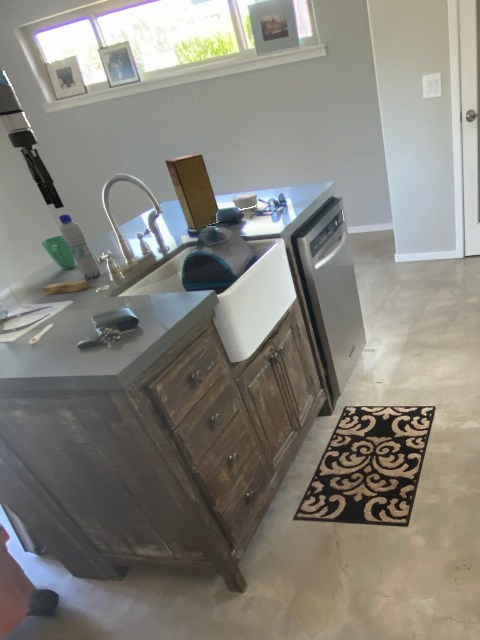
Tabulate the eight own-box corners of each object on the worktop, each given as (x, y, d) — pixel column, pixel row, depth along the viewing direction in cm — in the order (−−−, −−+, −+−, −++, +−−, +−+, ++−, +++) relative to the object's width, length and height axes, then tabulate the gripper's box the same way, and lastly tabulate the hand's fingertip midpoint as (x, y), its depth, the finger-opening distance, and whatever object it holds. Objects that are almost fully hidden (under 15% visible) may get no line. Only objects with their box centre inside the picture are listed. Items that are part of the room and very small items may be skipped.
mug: (56, 267, 203) (41, 239, 196) (82, 261, 205) (68, 233, 198) (53, 276, 192) (38, 248, 186) (81, 270, 195) (66, 241, 188)
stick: (46, 295, 176) (42, 288, 174) (50, 292, 178) (46, 285, 176) (84, 290, 174) (81, 283, 173) (88, 287, 177) (85, 279, 175)
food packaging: (213, 219, 232) (193, 153, 216) (223, 221, 227) (203, 153, 210) (186, 227, 227) (163, 160, 210) (196, 230, 221) (173, 160, 204)
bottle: (99, 277, 184) (70, 215, 170) (81, 280, 184) (50, 218, 170) (104, 271, 189) (76, 210, 175) (86, 275, 189) (56, 213, 175)
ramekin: (237, 214, 235) (233, 200, 232) (234, 209, 243) (230, 196, 240) (261, 208, 237) (257, 195, 233) (257, 204, 245) (254, 192, 241)
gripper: (39, 128, 159) (75, 206, 173) (24, 128, 175) (58, 200, 189) (13, 133, 156) (52, 212, 170) (0, 133, 172) (36, 205, 186)
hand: (55, 205), depth 180 cm, fingers open, 13 cm apart
